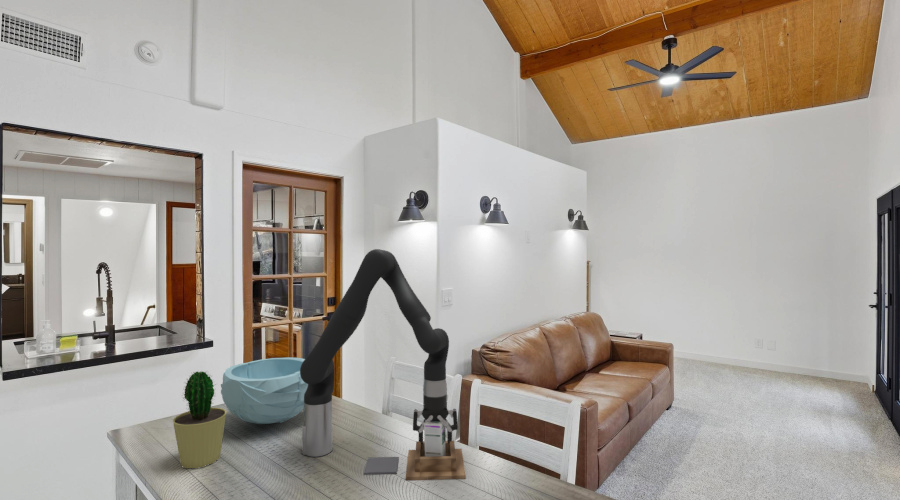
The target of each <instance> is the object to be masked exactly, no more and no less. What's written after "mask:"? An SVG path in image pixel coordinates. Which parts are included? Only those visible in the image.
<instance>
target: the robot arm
mask: <svg viewBox="0 0 900 500" xmlns="http://www.w3.org/2000/svg"><path fill="white" fill-rule="evenodd" d="M358 267H359V268H358V270H357V272H356V274H355V276H354V278H353V280H352V282H351V283H350V285H349V287H348V288H347V290H346V292H345V294H344V296H343V297H342V299H341V300H340V302H339V304H338V305H337V307H336V308H335V310H334V312H333V313H332V315H331V317H330V318H329V320H328V323H327V324H326V326H325V327H324V330H323V332H322V334H321V336H320V337H319V340H318V341H317V343H316V344H315V345H314V347H313V348H312V349H311V351H310V352H309V353H308V355H307V356H306V357H305V358H304V359H305V360H304V361H303V363H302V365H301V368H300V376H301V378H302V380H303V381H304V382H305V383H307V384H308V387H307V390H306V392H305V394H304V408H303V422H304V423H303V425H302V430H301V431H302V434H301V437H302V455H303V456H307V457H315V458H317V457H322V456H325V455H328V454H330V453H331V452H332V451H333V393H334V391H335V390H334V389H335V388H334V387H335V363H334V357H335V356H336V354H337V353H338V352H339V350H340V349H341V348H342V347H343V346H344V345H345V343H347V341H348V340H349V339H350V338H351V336H352V335H353V334H354V333H355V332H356V330H357V328H358V326H359V325H360V323H361V322H362V321H363V318H364V316H365V315H366V311H367V306H368V303H369V302H368V301H369V298H370V295H371V293H372V290H373V289H374V287H375V286H376V284H378V282H379V280H380V279H382V280H383V281H384V282H385V283H386V284H387V285H388V287H389V288H390V290H391V291H392V293H393V295H394V297H395V300H396V303H397V305H398V308H399V310H400V312H401V314H402V315H403V317H404V318H405V320H406V321H407V322H408V324H409V325H410V327H411V329H412V331H413V334H414V336H415V339H416V340H417V341H416V342H417V343H418V346H419V347H420V348H421V350H422V351H424V353H427V354H428V356H427V359H426V360H424V361H425V362H424V364H423V385H422V386H423V387H422V390H423V391H422V392H423V393H422V395H423V396H422V397H423V400H422V401H423V405H422V406H423V408H422V410H418V409H414V410H413V420H412V430H413V431H414V432H415V431H416V432H418V441H419V442H421V444H423V441H424V424H425V423H429V422H432V421H441V422H442V424H443V425H444V427H445V430H446V431H447V435H446V436H447V437H446V439H447V440H446V441H448V443H450V442H451V441H453V431H457V430H458V428H459V425H458V415H457V409H456V408H453V409H451V410H450V409H448V397H447V396H448V393H447V392H448V386H447V385H448V384H447V365H446V364H447V359H448V354H449V347H450V340H449V336H448V333H447V332H446V330H444V329H443V328H441V327H440V328H434V329H433V327H432V324H431V323H430V322H431V319H432V317H431V315H430V313H429V312H428V310H427V309H426V307H425V306H424V304H423V303H422V302H421V300H420V299H419V298H418V296H417V295H416V293H415V291H414V290H413V289H412V287H411V285H410V283H409V282H408V280H407V278H406V277H405V275H404V273H403V271H402V269H401V266H400V264H399V262H398V261H397V257H395V255H394V254H393V253H392V252H390V251H388V250H384V249H381V248H380V249H379V248H378V249H377V248H374V249H372V250H370V251H368V252H367V253H366V254H365V256H364V257H363V259H362V262H361V264H360V265H359V266H358ZM421 416H422V417H423V418H424V419H423V420H422V422H421V423H420V425H418V419H419V418H420V417H421ZM448 416H450V417H451V418H452V422H453V424H450V422H449V420H447V418H448Z"/></svg>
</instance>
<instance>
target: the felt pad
mask: <svg viewBox="0 0 900 500" xmlns="http://www.w3.org/2000/svg"><path fill="white" fill-rule="evenodd" d="M399 460H400V457H399V456H383V457H382V456H378V457H376V456H375V457H372V456H371V457H370V456H369V457H368V458H367V461H366V465H365V468H364V471H363V475H397V473H398V467H399V462H400V461H399Z"/></svg>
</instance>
